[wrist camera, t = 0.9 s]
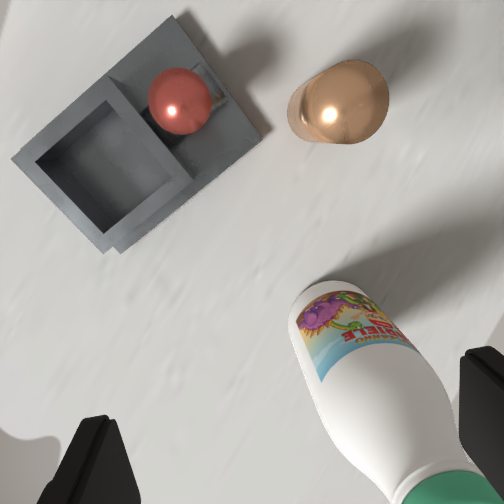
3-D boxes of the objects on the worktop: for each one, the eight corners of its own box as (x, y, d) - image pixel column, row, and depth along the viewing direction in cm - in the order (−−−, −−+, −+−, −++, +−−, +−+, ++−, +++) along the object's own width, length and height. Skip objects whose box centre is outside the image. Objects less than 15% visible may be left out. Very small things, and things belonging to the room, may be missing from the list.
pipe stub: (322, 67, 28) (362, 41, 20) (354, 117, 29) (403, 111, 22) (275, 106, 28) (296, 95, 21) (308, 154, 30) (340, 160, 22)
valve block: (173, 19, 26) (160, -16, 20) (261, 139, 29) (272, 140, 23) (28, 148, 28) (-25, 152, 22) (124, 249, 31) (101, 278, 25)
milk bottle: (365, 354, 36) (535, 606, 16) (284, 356, 35) (364, 622, 16) (375, 277, 33) (586, 466, 14) (288, 277, 33) (389, 476, 14)
